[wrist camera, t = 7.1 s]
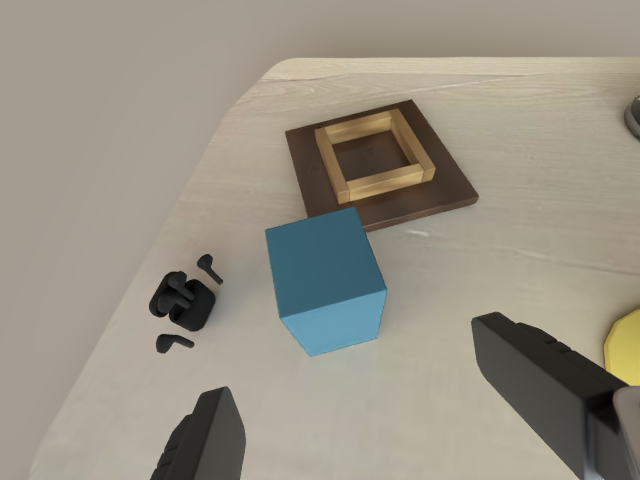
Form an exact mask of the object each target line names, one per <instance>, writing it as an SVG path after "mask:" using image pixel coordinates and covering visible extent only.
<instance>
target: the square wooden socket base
mask: <svg viewBox="0 0 640 480" xmlns="http://www.w3.org/2000/svg"><path fill="white" fill-rule="evenodd" d="M285 134H286V138H287V142H288V145H289V149H290V153H291V156H292V160H293V164H294V168H295V171H296V175H297V179H298V182H299V186H300V190H301V193H302V197H303V201H304V204H305V208H306V212H307V215H308V218H312V217H316V216H320V215H323V214H327V213H331V212H335V211H339V210H342V209H346V208H350V207H355V208H356V210H357V213H358V215H359V218H360V221H361V223H362V226H363V228H364V231H365V233H366V232H369V231H373V230H377V229H381V228H384V227H388V226H392V225H396V224H399V223H403V222H407V221H411V220H414V219H418V218H422V217H426V216H429V215H433V214H437V213H441V212H445V211H448V210H452V209H456V208H460V207H463V206H467V205H471V204H475V203H476V201H477V199H478V197H479V195H478V194H477V193H476V191H475V190H474V188H473V187H472V185H471V184H470V182H469V181H468V180H467V178H466V177H465V175H464V174H463V172H462V171H461V169H460V168H459V167H458V165H457V164H456V162H455V161H454V159H453V158H452V156H451V155H450V154H449V152H448V151H447V149H446V148H445V146H444V145H443V143H442V142H441V141H440V139H439V138H438V136H437V135H436V133H435V132H434V131H433V129H432V128H431V126H430V125H429V123H428V122H427V120H426V119H425V118H424V116H423V115H422V113H421V112H420V110H419V109H418V107H417V106H416V105H415V103H414V102H413V100H412V99H411V100H407V101H403V102H399V103H395V104H391V105H387V106H383V107H380V108H376V109H372V110H368V111H364V112H360V113H356V114H352V115H348V116H344V117H340V118H336V119H332V120H328V121H324V122H320V123H316V124H313V125H309V126H305V127H301V128H297V129H293V130H289V131H285Z"/></svg>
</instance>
